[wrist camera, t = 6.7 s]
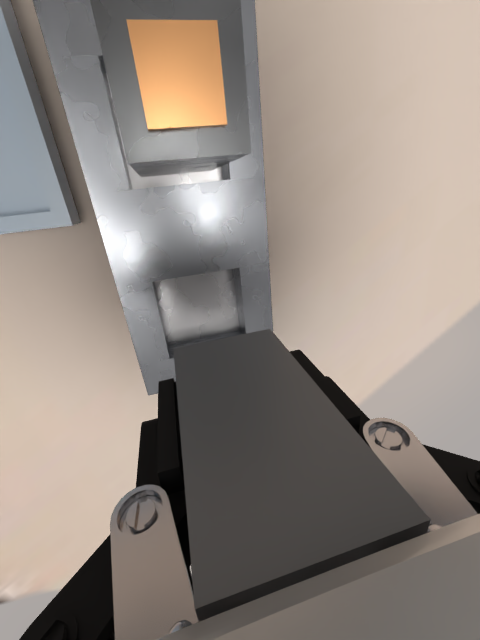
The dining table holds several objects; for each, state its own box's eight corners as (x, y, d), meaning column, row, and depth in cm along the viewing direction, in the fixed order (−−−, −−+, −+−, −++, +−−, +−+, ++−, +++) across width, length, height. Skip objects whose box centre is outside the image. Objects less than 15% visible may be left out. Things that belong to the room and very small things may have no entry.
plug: (173, 348, 11) (196, 637, 4) (269, 328, 12) (447, 538, 5) (190, 425, 13) (231, 733, 5) (274, 404, 14) (410, 649, 6)
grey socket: (51, 17, 13) (-119, -265, 5) (236, 19, 15) (331, -192, 7) (149, 371, 22) (144, 477, 14) (261, 346, 24) (317, 427, 15)
